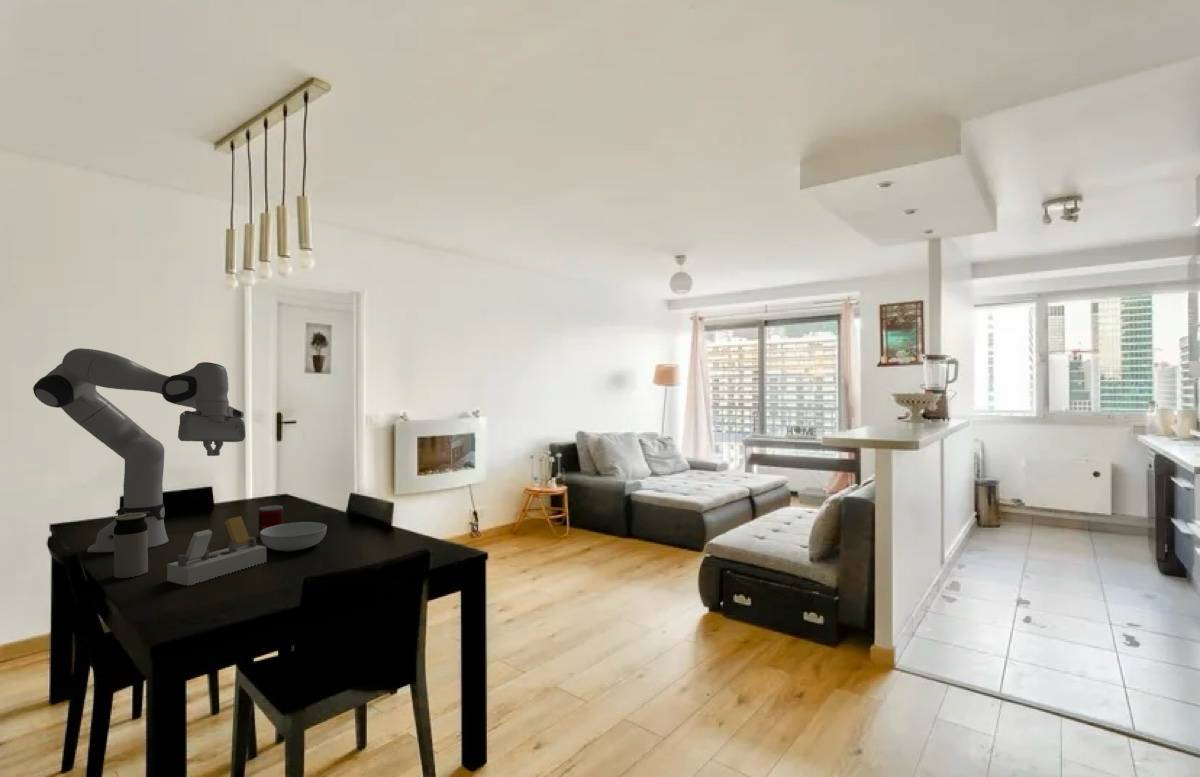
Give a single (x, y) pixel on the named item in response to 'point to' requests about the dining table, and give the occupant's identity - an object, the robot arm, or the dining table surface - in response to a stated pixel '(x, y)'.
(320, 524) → the serving bowl
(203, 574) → the long paddle holder base
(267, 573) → the dining table surface
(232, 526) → the amber paddle
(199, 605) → the dining table surface
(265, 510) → the canned food
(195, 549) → the white paddle
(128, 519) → the travel mug
